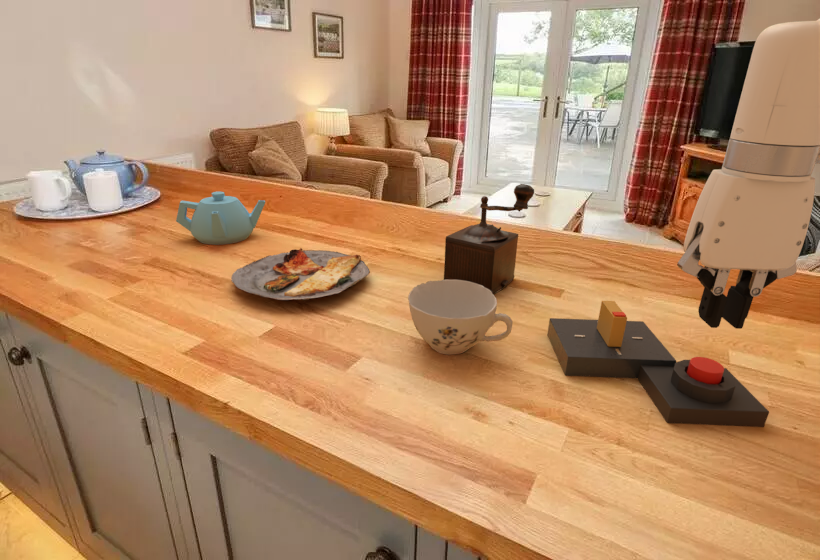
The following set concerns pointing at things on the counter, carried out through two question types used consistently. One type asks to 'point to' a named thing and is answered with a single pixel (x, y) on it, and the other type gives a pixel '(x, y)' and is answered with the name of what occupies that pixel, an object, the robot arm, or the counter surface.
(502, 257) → the manual coffee grinder
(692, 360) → the button
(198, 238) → the teapot
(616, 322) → the red-tipped wooden block
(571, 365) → the panel
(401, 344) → the counter surface
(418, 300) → the teacup
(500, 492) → the counter surface
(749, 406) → the button block
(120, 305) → the counter surface
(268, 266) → the food plate
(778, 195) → the robot arm
